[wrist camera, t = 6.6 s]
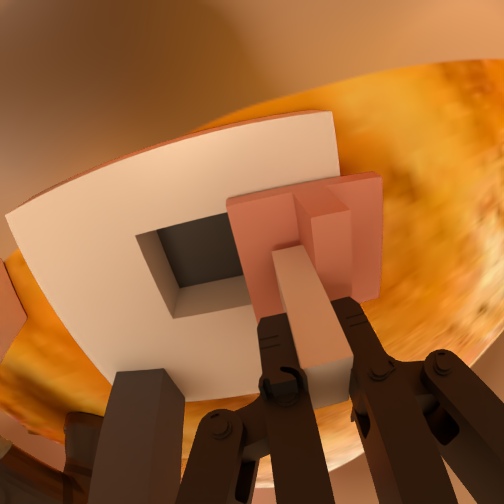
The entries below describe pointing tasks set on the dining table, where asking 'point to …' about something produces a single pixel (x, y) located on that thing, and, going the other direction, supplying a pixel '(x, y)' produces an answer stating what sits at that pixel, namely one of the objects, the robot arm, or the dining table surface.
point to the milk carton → (9, 312)
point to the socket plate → (168, 249)
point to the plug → (140, 441)
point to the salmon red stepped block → (312, 236)
